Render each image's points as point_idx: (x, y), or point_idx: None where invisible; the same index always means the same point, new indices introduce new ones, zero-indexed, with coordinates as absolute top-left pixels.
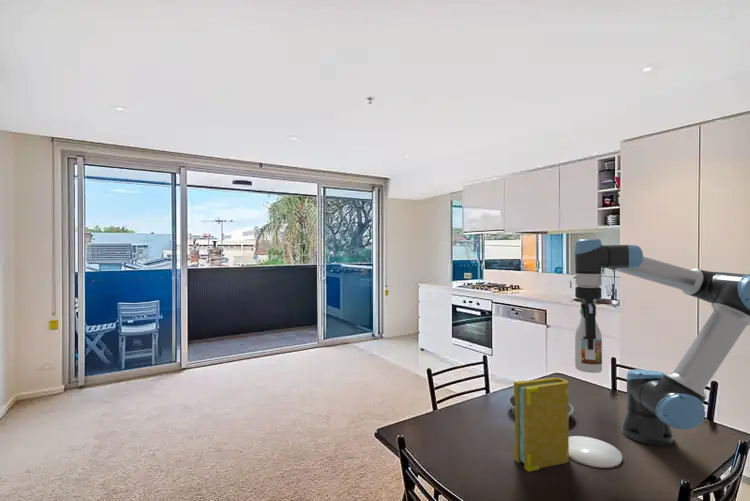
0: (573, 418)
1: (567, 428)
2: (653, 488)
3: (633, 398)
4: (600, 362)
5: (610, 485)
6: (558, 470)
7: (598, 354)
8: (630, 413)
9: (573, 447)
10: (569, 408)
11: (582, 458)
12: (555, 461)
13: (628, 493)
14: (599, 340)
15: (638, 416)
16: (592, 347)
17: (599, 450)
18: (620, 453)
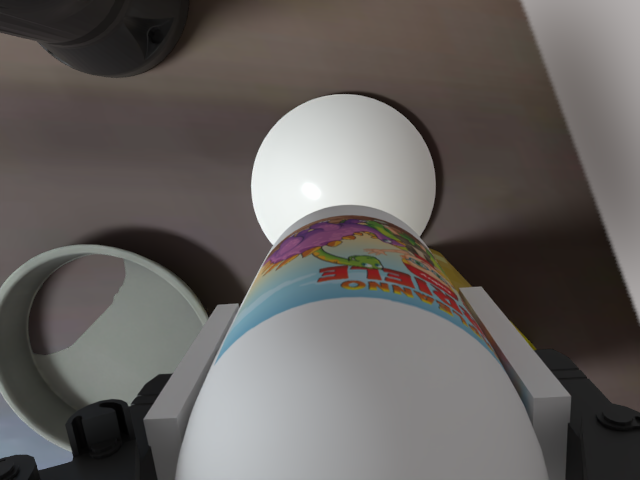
0: (95, 236)
1: (459, 286)
2: (495, 20)
3: (76, 8)
4: (405, 231)
5: (525, 139)
6: (495, 272)
7: (440, 270)
8: (102, 36)
9: None
10: (63, 257)
11: (416, 212)
12: (469, 284)
13: (551, 94)
14: (462, 321)
15: (126, 5)
16: (572, 370)
17: (336, 161)
18: (328, 97)
